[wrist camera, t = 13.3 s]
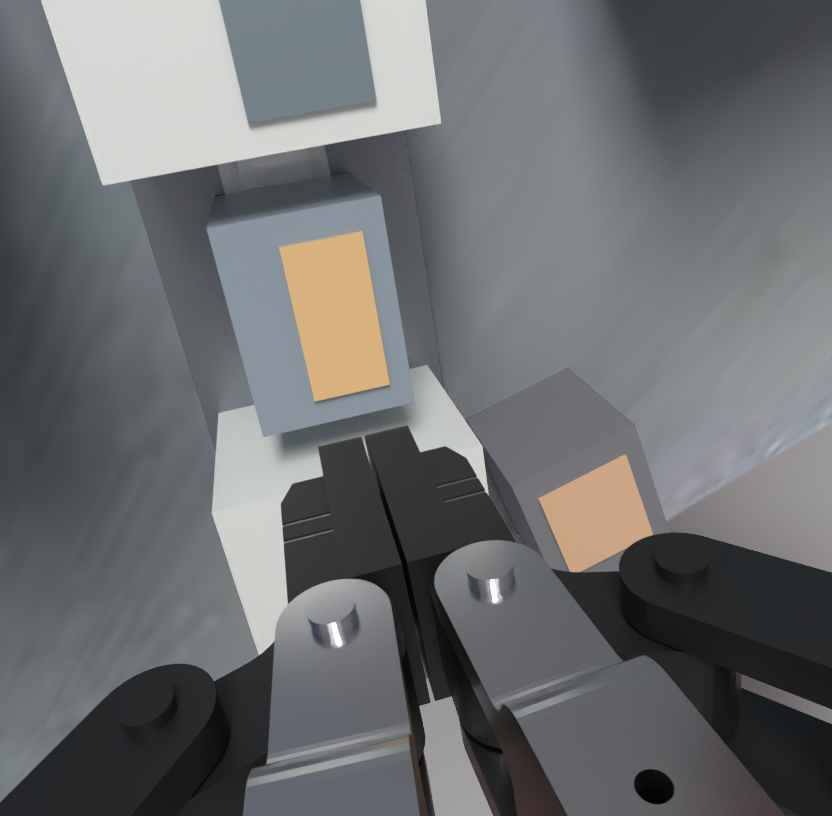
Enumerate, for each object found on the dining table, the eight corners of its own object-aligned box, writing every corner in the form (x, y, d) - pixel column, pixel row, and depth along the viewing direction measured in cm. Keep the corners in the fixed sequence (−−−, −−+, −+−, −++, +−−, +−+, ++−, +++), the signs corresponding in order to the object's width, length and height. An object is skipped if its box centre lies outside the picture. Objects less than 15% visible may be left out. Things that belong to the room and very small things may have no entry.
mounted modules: (350, -125, 21) (399, -221, 14) (449, 505, 30) (505, 616, 24) (60, -87, 20) (-28, -172, 13) (257, 554, 29) (263, 685, 23)
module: (349, 171, 24) (381, 196, 18) (379, 339, 26) (415, 404, 21) (209, 197, 23) (199, 230, 18) (254, 366, 26) (258, 441, 20)
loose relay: (567, 367, 31) (636, 426, 26) (610, 486, 34) (680, 561, 29) (465, 418, 31) (513, 489, 26) (518, 534, 34) (571, 618, 29)
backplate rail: (356, -110, 23) (367, -128, 21) (448, 479, 32) (461, 503, 30) (63, -70, 21) (46, -86, 19) (248, 530, 31) (249, 558, 29)
